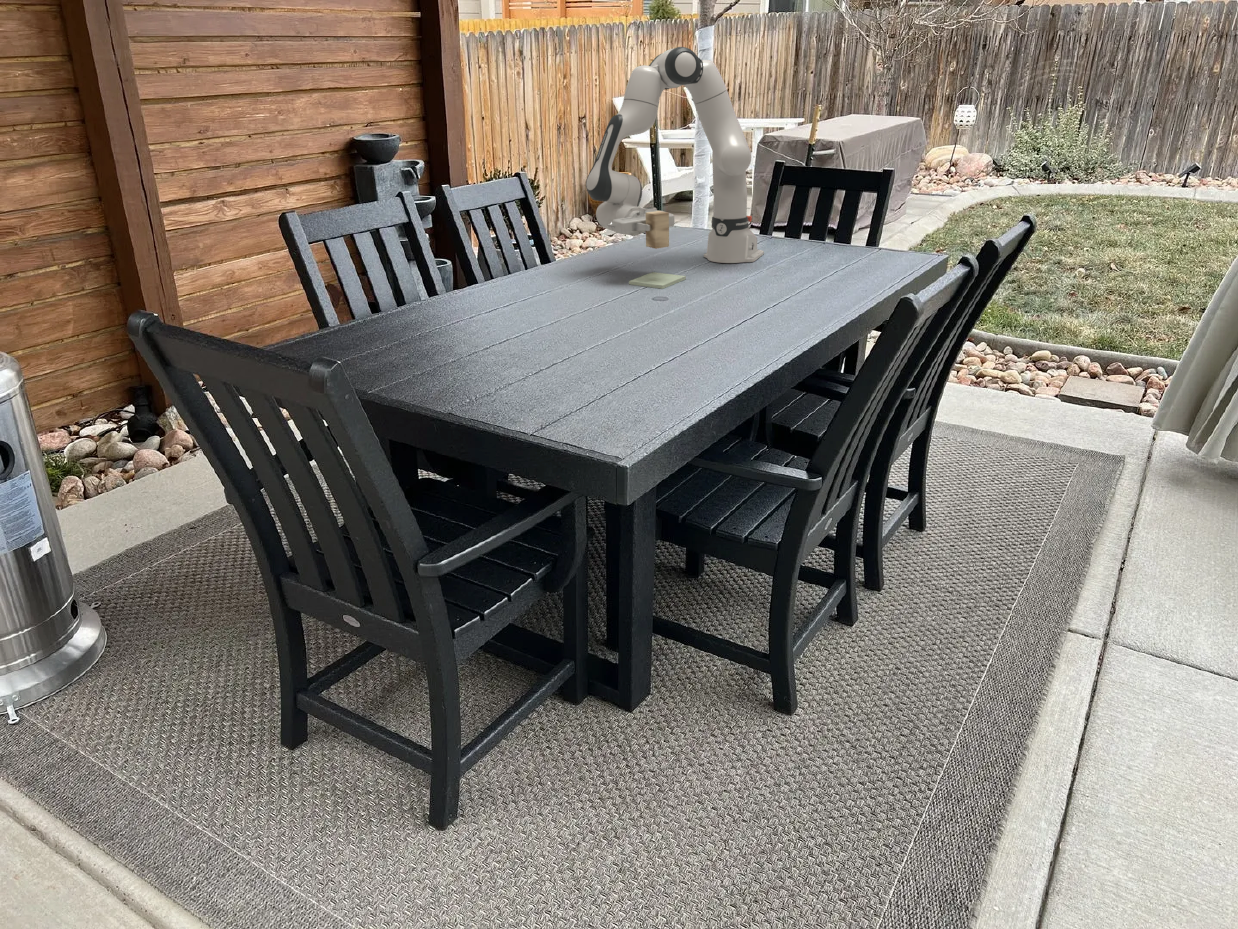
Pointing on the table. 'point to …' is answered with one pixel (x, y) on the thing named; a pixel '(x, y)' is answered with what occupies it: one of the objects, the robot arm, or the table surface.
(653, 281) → the sage mat
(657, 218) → the oak block
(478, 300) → the table surface
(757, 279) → the table surface
